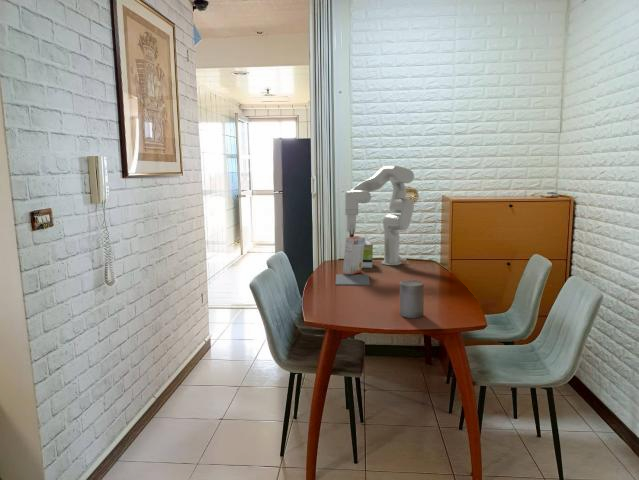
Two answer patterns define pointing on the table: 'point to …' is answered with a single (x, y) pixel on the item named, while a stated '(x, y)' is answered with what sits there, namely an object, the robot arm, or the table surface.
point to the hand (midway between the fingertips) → (351, 243)
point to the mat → (352, 279)
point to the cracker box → (353, 255)
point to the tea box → (367, 255)
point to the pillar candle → (411, 298)
